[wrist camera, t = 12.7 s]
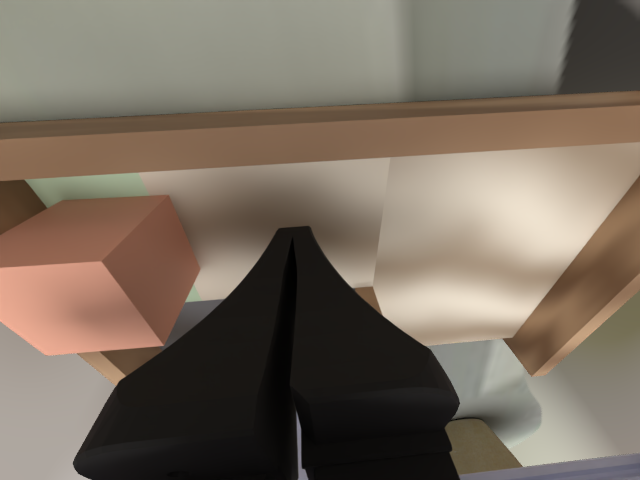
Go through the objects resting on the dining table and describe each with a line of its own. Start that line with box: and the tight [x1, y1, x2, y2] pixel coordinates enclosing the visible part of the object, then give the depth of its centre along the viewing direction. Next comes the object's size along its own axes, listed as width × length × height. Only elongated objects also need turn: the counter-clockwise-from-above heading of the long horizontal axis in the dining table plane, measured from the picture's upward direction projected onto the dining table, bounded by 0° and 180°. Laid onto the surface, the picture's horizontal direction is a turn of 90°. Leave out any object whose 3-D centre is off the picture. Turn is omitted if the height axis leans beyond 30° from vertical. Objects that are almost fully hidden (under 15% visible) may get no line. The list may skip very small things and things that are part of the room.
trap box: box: [0, 91, 640, 385], centre depth 12 cm, size 17×27×3 cm, turn 92°
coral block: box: [0, 195, 201, 356], centre depth 9 cm, size 4×4×4 cm
